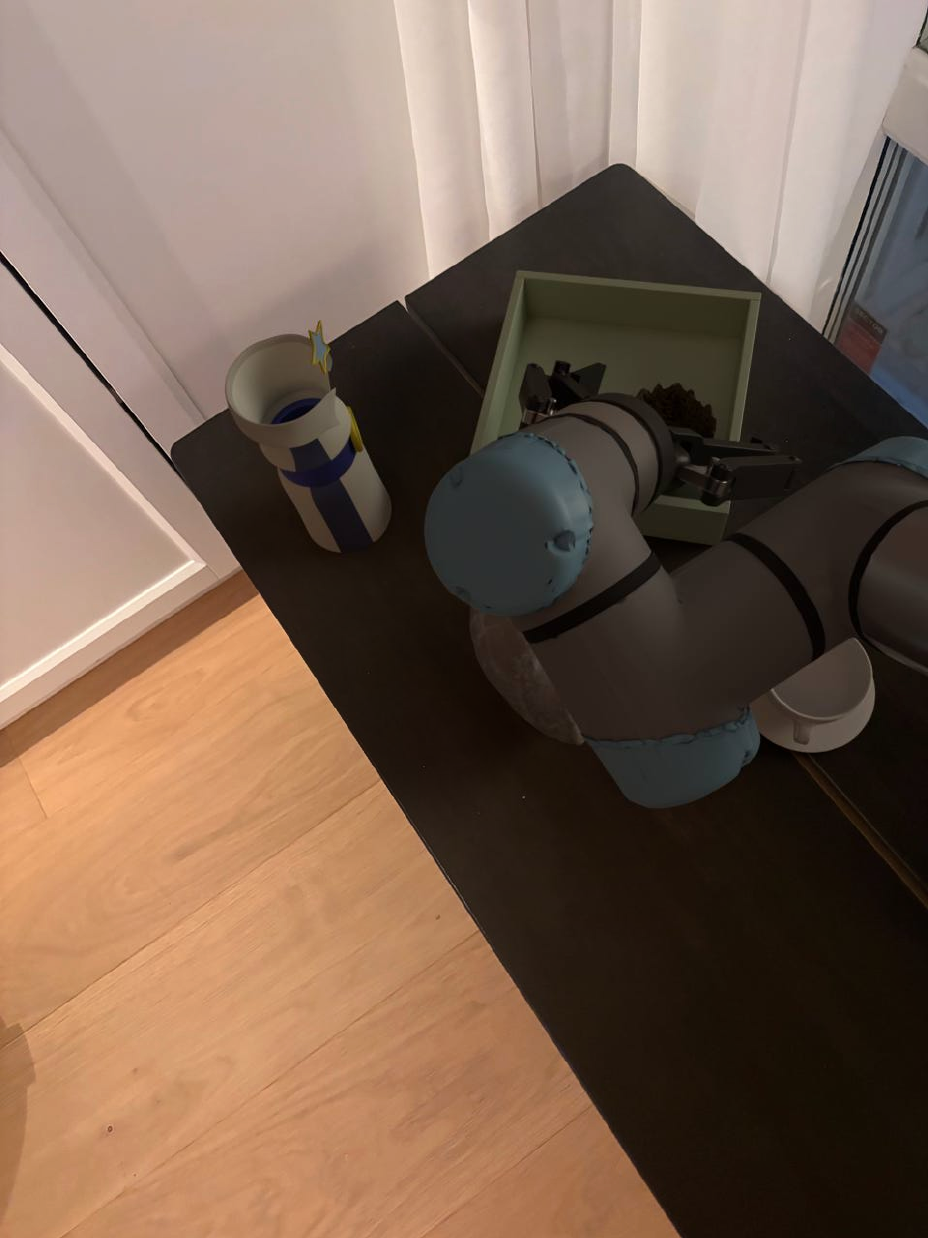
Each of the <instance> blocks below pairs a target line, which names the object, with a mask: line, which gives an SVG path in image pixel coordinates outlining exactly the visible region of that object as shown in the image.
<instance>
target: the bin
mask: <svg viewBox="0 0 928 1238" xmlns="http://www.w3.org/2000/svg"><path fill="white" fill-rule="evenodd" d="M761 297H762V293H761V292H756V291H745V290H735V289H734V290H733V289H725V288H724V289H723V288H712V287H702V286H691V285H680V284H671V283H659V282H649V281H647V282H646V281H637V280H629V279H628V280H627V279H617V278H605V277H596V276H595V277H594V276H584V275H583V276H582V275H575V274H563V273H553V272H543V271H530V270H519V269H517V270H516V272H515V275H514V279H513V284H512V287H511V292H510V295H509V300H508V302H507V306H506V312H505V314H504V319H503V323H502V326H501V331H500V335H499V338H498V342H497V346H496V350H495V354H494V358H493V361H492V366H491V369H490V373H489V378H488V381H487V386H486V389H485V393H484V397H483V401H482V404H481V409H480V412H479V416H478V419H477V424H476V428H475V432H474V436H473V438H472V439H473V440H472V444H471V447H470V452H469V455H468V457H469V456H470V455H472V454H474V453H475V452H477V451H478V450H480V449H482V448H483V447H485V446H486V445H488V444H489V443H491V442H493V441H495V440H497V439H498V437H500V436H503V435H506V434H512V433H514V432H516V431H518V429H519V426H520V422H521V418H522V411H521V406H520V402H519V398H518V395H519V392H520V388H521V384H522V381H523V377H524V374H525V370H526V366H527V364H530V363H535V364H538V365H539V366H541V367H542V368H543V370H544V372H545V375H549V376H551V375H552V371H553V368H554V365H555V361H556V360H561V361H565V362H568V363H570V364H571V367H570V370H569V372H574V371H576V370H579V369H582V368H584V367H587V366H590V365H592V364H595V363H598V362H599V363H601V364H604V365H607V367H606V370H605V373H604V376H603V379H602V382H601V385H600V389H599V392H598V394H601V393H611V392H612V393H623V394H627V395H632V394H636V396H637V394H638V393H639V391H640V390H641V389H642V388H645V389H646V390H649V391H650V392H651V393H652V391H653V389H654V387H655V386H656V385H657V384H658V383H661V385H663V388H664V389H665V388H668V387H669V386H671V385H672V384H674V383H680V384H682V385H683V387H684V388H685V390H686V391H688V390H690V389H692V390H694V392H695V393H694V394H695V398H696V400H698V401H700V402H701V404H702V405H703V406H705V405H707V404H710V405H711V407H712V413H713V415H714V416H715V417H716V420H717V426H716V432H715V435H714V439H720V440H729V441H738V442H740V440H741V432H742V425H743V418H744V412H745V407H746V406H745V405H746V398H747V391H748V385H749V378H750V371H751V366H752V359H753V352H754V345H755V340H756V339H755V338H756V332H757V326H758V325H757V324H758V319H759V318H758V317H759V311H760V304H761ZM698 490H699V488H698V487H696V486H694V485H691V484H689V483H686V484H685V485H683V486H681V487H679V488H677V489H675V490H671V491H666V492H662V494H661V495H660V496H659V497H658V498H657V499H656V500H655V501H654V502H653V503H652V504H651V505H650V506H649V507H648V508H647V509H646V510H645V511H644V512H643V513H642V514H640V515H639V516H638V517H637V518H636V519H635V520H634V523H635V525H636V526H637V528H638V530H639V531H640V533H641V535H642V536H648V537H653V538H661V539H667V540H675V541H681V542H686V543H694V544H700V545H706V546H707V545H709V546H714V545H716V544H717V543H719V542H721V541H722V540H721V539H722V536H723V533H724V530H725V527H726V523H727V520H728V517H729V513H730V506H731V501H725V502H724V503H722V504H721V505H720V506H718V507H712V506H711V507H710V506H707V505H705V504H703V503H702V502H701V501H700V497H701V495H699V494H698Z"/></svg>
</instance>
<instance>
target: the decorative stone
mask: <svg viewBox="0 0 928 1238" xmlns="http://www.w3.org/2000/svg"><path fill="white" fill-rule="evenodd" d="M469 608H470V609H469V621H468V623H469V625H468V626H469V634H470V638H471V642H472V645H473V649H474V653H475V657H476V659H477V662H478V664H479V666H480V668H481V669H482V671H483V674H484V675H485V677H486V678H487V680H488V681H489V683H491V685H492V686H493V687H494V688H495V689H496V690H497V692H498V693H499V695H501V696H502V697H503V698H504V700H505V701H506V702H507V703H508V704H509V706H510V707H511V708H512V709H513V710H514V711H515V712H516V713H517V714H519V715H520V716H521V718H522V719H524V720H525V721H526V722H527V723H528V724H530V725H531V726H532V727H534V729H536V730H538V731H539V732H541V733H542V734H544V735H545V736H548V737H549V738H551V739H557V740H558V741H559V742H560V743H563V744H571V745H576V746H578V747H579V746H581V745H583V744H584V743H585V741H584V739H583V737H582V736H581V734H580V733H581V731H580V730H579V728H578V726H577V725H576V723H575V721H574V720H573V718H572V716H571V714H570V713H569V711H568V709H567V708H566V706H565V704H564V703H563V701H562V699H561V698H560V696H559V694H558V693H557V691H556V689H555V688H554V686H553V684H552V683H551V681H550V679H549V678H548V676H547V674H546V673H545V671H544V669H543V668H542V666H541V664H540V662H539V661H538V659H537V657H536V656H535V654H534V652H533V651H532V649H531V647H530V646H529V644H528V642H527V641H526V639H525V637H524V636H523V634H522V632H521V631H518V630H517V628H516V627H515V625H514V624H513V622H512V620H511V619H510V617H497V616H492V615H488V614H484V613H481V612H479V611H476V610H475V609H474V608H472V606H470V607H469Z"/></svg>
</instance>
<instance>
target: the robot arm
mask: <svg viewBox="0 0 928 1238" xmlns="http://www.w3.org/2000/svg"><path fill="white" fill-rule="evenodd" d="M570 367H571V364H570V363H568V362H565V361H561V360H556V361H555V365H554V368H553V371H552V375H551V376H549V375H545V372H544V370H543V368H542V367H541V366H539V365H538V364H535V363H530V364H527V366H526V370H525V374H524V377H523V381H522V384H521V388H520V392H519V395H518V398H519V402H520V406H521V411H522V418H521V422H520V426H519V429H518V431H516V432H514V433H512V434H506V435H503V436H500V437H498V439H497V440H495V441H493V442H491V443H489V444H488V445H486V446H485V447H483V448H482V449H480V450H478V451H477V452H475V453H474V454H472V455H470V454H469V455H470V456H469V455H468V456H467V457H465V458H464V459H462V460H461V461H459V462H457V463H456V464H455V465H454V466H453V467H451V469H449V470H448V471H447V473H446V474H444V475H443V476H442V478H441V479H440V481H439V482H437V483H438V484H437V485H436V487H435V488H434V489H433V491H432V494H431V495H430V498H429V501H428V503H427V506H426V511H425V517H424V525H423V536H424V545H425V549H426V553H427V557H428V560H429V562H430V565H431V567H432V569H433V571H434V573H435V575H436V577H437V578H438V579H439V581H440V582H441V583H442V585H443V586H444V587H445V589H446V590H447V591H448V592H449V593H451V594H452V595H454V596H455V597H457V598H458V599H460V600H461V601H462V602H463V603H465V604H467V605H469V606H470V607H471V606H472V608H474V609H475V610H476V611H479V612H481V613H484V614H488V615H492V616H497V617H510V619H511V620H512V622H513V624H514V625H515V627H516V628H517V630H518V631H521V632H522V634H523V636H524V637H525V639H526V641H527V642H528V644H529V646H530V647H531V649H532V651H533V652H534V654H535V656H536V657H537V659H538V661H539V662H540V664H541V666H542V668H543V669H544V671H545V673H546V674H547V676H548V678H549V679H550V681H551V683H552V684H553V686H554V688H555V689H556V691H557V693H558V694H559V696H560V698H561V699H562V701H563V703H564V704H565V706H566V708H567V709H568V711H569V713H570V714H571V716H572V718H573V720H574V721H575V723H576V725H577V726H578V728H579V730H580V731H581V733H580V734H581V736H582V737H583V739H584V743H586V744H588V745H589V746H590V747H591V748H592V750H593V751H594V753H595V754H596V756H597V758H598V759H599V761H600V762H601V763H602V765H603V767H604V768H605V769H606V770H607V772H608V773H609V775H610V776H611V778H612V779H613V781H614V782H615V784H616V785H617V787H618V788H619V790H620V791H621V793H622V794H623V795H624V797H625V798H626V799H628V800H629V801H630V802H631V803H632V802H633V803H635V804H637V805H639V806H641V807H644V808H648V809H669V808H674V807H679V806H682V805H686V804H690V803H692V802H694V801H695V802H696V801H697V800H700V799H702V798H704V797H706V796H708V795H710V794H712V793H714V792H716V791H718V790H719V789H721V788H722V787H724V786H725V785H727V784H729V783H730V782H731V781H733V780H734V779H736V777H738V775H739V773H740V772H741V768H743V767H745V766H746V765H749V764H750V763H751V762H752V761H753V760H754V758H755V757H756V755H757V753H758V750H759V748H760V745H761V734H760V732H759V731H758V728H757V725H756V723H755V720H754V715H753V712H752V711H751V709H750V708H749V705H750V703H752V702H753V701H755V700H756V699H758V698H759V697H761V696H762V695H764V694H765V693H767V692H768V691H770V690H771V689H773V688H774V687H776V686H777V685H779V684H780V683H782V682H783V681H785V680H786V679H788V678H789V677H791V676H792V675H794V674H795V673H797V672H798V671H800V670H801V669H803V668H804V667H806V666H807V665H809V664H810V663H812V662H814V661H815V660H817V659H818V658H819V657H820V656H822V655H824V654H825V653H827V652H828V651H830V650H832V649H833V648H835V647H837V646H838V645H840V644H841V643H843V642H845V641H846V640H848V639H850V638H855V639H857V641H858V642H859V643H862V644H864V645H866V646H868V647H871V648H873V649H874V650H876V651H878V652H879V653H881V654H882V655H885V656H888V657H890V658H892V659H893V660H896V661H898V662H899V663H901V664H903V665H905V666H906V667H908V668H910V669H912V670H913V671H915V672H918V673H919V674H920V675H923V676H924V677H926V678H928V440H926V439H924V438H920V437H916V436H905V435H903V436H902V435H901V436H896V437H890V438H887V439H884V440H882V441H879V442H878V443H876V444H874V445H872V446H871V447H869V448H866V449H865V450H862V451H861V452H859V453H858V454H856V455H854V456H852V457H849V458H847V459H845V460H843V461H841V462H836V463H834V464H833V465H831V466H830V467H829V468H827V469H826V470H824V471H823V472H822V473H821V474H820V475H819V476H817V478H815V479H814V480H813V481H811V482H810V483H808V484H807V485H805V486H804V487H802V488H800V489H799V490H796V492H794V493H792V494H791V495H790V496H788V494H789V492H790V490H791V488H792V486H793V484H794V481H795V479H796V477H797V474H798V473H799V471H800V468H801V466H802V463H803V460H802V459H801V458H800V457H798V456H796V455H794V454H790V455H789V454H780V455H779V453H780V451H781V447H780V445H778V444H774V443H773V442H769V441H770V439H771V437H772V435H773V432H774V429H775V427H776V424H775V423H773V422H770V421H765V422H764V423H763V424H761V426H760V427H759V428H758V430H757V431H756V432H755V433H754V434H753V435H752V436H751V439H750V441H749V442H746V441H739V442H738V441H729V440H720V439H711V438H703V437H702V436H700V435H699V434H697V433H696V432H694V431H693V430H691V429H689V428H680V427H671V426H666V424H665V422H664V421H663V419H662V418H661V417H660V415H659V414H658V413H657V412H656V411H655V410H654V409H653V408H652V407H651V406H649V405H648V404H647V403H645V402H644V401H642V400H640V399H638V398H636V397H633V396H631V395H627V394H623V393H612V392H611V393H601V394H598V392H599V389H600V385H601V382H602V379H603V376H604V373H605V370H606V367H607V365H604V364H601V363H599V362H598V363H595V364H592V365H590V366H587V367H584V368H582V369H579V370H576V371H574V372H569V370H570ZM676 441H680V444H678V443H677V442H676ZM685 483H689V484H691V485H694V486H696V487H698V488H699V490H698V494H699V495H701V497H700V501H701V502H702V503H703V504H705V505H707V506H710V507H711V506H712V507H718V506H720V505H721V504H722V503H724V502H725V501H730V502H731V501H742V500H743V501H744V500H754V499H764V498H777V497H786V496H788V497H786V498H785V499H783V500H782V501H780V502H779V503H777V504H776V505H774V506H772V507H771V508H769V509H768V510H766V511H765V512H764V513H763V512H762V514H760V515H759V516H757V517H755V518H754V519H752V520H751V521H749V522H748V523H746V524H745V525H744V526H742V527H740V528H739V529H737V530H736V531H734V532H733V533H731V534H729V535H728V536H727V537H725V538H724V539H722V540H720V542H719V543H717V544H716V545H712V546H711V547H710V548H709V547H708V549H706V550H705V551H703V552H701V553H700V554H698V555H697V556H695V557H694V558H692V559H690V560H689V561H687V562H686V563H683V564H682V565H681V566H679V567H677V568H676V569H674V570H672V571H671V572H670V573H668V572H667V571H666V570H665V568H664V566H663V565H662V564H661V561H660V560H659V559H658V557H657V554H656V553H655V552H654V550H653V549H651V548H650V547H649V544H648V543H647V541H646V540H645V538H644V535H641V533H640V531H639V530H638V528H637V526H636V525H635V523H634V520H635V519H636V518H637V517H638V516H639V515H640V514H642V513H643V512H644V511H645V510H646V509H647V508H648V507H649V506H650V505H651V504H652V503H653V502H654V501H655V500H656V499H657V498H658V497H659V496H660V495H661V494H662V492H663V491H664V490H665V489H666V487H668V486H677V485H683V484H685Z"/></svg>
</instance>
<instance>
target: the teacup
mask: <svg viewBox="0 0 928 1238" xmlns="http://www.w3.org/2000/svg"><path fill="white" fill-rule="evenodd" d="M875 688H876V687H875V682H874V678H873V668H872V664H871V660H870V658H869V655H868V653H867V651H866V650H865V648H864V647H863V645H862V644H861V642H860V641H859V640H857V639H855V638H850V639H848V640H846V641H845V642H843V643H841V644H840V645H838V646H837V647H835V648H833V649H832V650H830V651H828V652H827V653H825V654H824V655H822V656H820V657H819V658H818V659H817V660H815V661H814V662H812V663H810V664H809V665H807V666H806V667H804V668H803V669H801V670H800V671H798V672H797V673H795V674H794V675H792V676H791V677H789V678H788V679H786V680H785V681H783V682H782V683H780V684H779V685H777V686H776V687H774V688H773V689H771V690H770V691H768V692H767V693H765V694H764V695H762V696H761V697H759V698H758V699H756V700H755V701H753V702H752V703H750V705H749V708H750V709H751V711H752V712H753V715H754V720H755V723H756V725H757V728H758V731H759V734H760V735H762V736H763V737H765V739H767V740H769V741H771V742H772V743H774V744H776V745H777V746H780V747H782V748H785V749H788V750H791V751H796V752H801V753H822V752H829V751H832V750H834V749H839V748H840V747H843V746H844V745H846V744H848V743H849V742H851V741H852V740H853V739H855V738H856V737H857V736H858V735H859V734H860V733H861V732H862V731H863V729H864V728H865V727H866V726H867V724H868V723H869V721H870V718H871V716H872V713H873V711H874V707H875V699H876V689H875Z"/></svg>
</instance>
